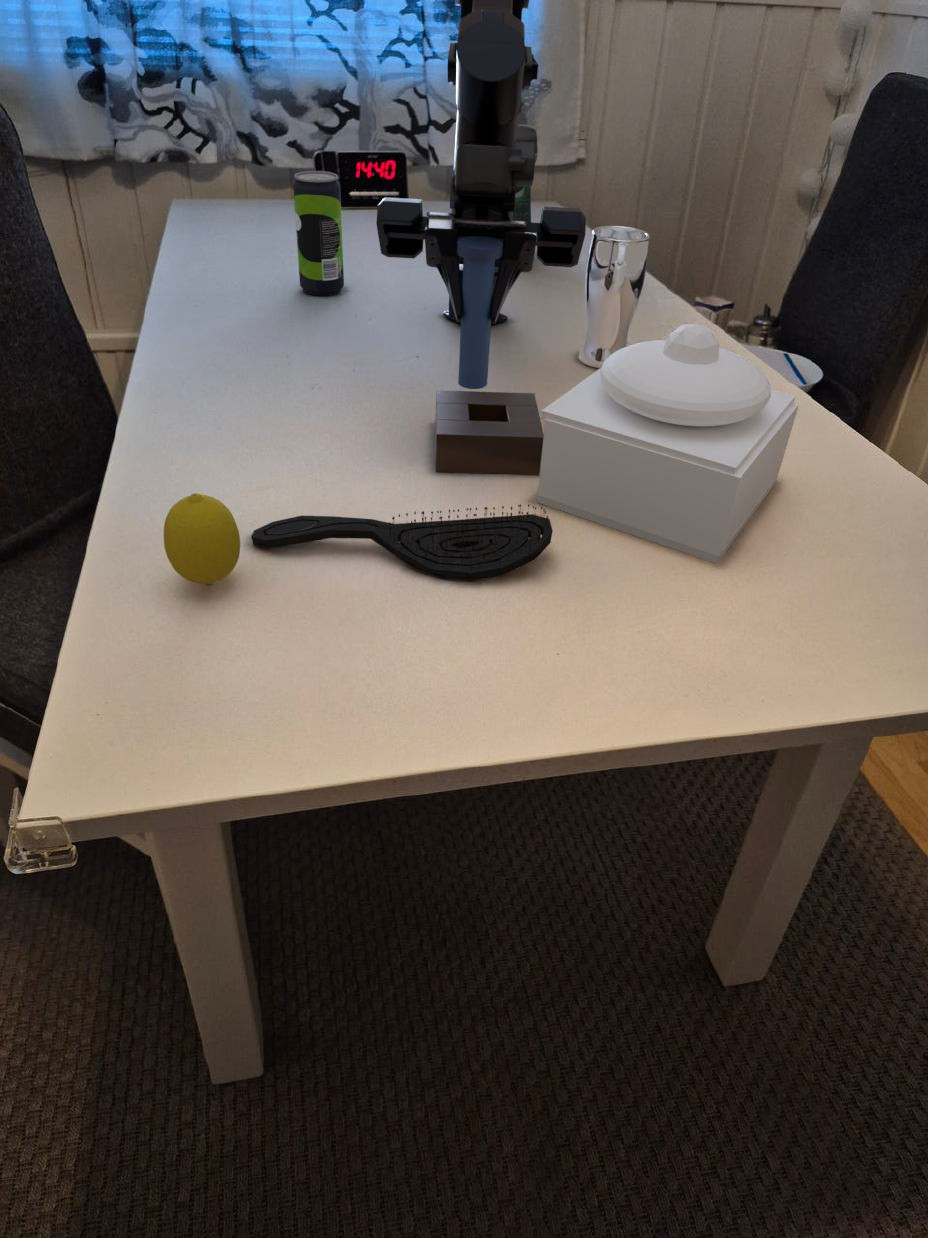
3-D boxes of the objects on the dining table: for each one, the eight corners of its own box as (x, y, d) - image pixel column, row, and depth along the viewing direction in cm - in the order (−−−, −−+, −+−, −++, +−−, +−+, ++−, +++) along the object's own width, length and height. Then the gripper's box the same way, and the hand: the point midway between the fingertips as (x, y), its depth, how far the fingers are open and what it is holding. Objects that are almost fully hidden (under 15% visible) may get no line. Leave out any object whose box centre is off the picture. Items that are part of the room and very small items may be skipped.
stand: (435, 425, 93) (436, 389, 91) (530, 428, 94) (534, 392, 91) (435, 472, 85) (436, 434, 83) (540, 474, 86) (544, 437, 83)
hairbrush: (259, 487, 75) (551, 491, 75) (265, 524, 78) (549, 528, 77) (236, 540, 69) (556, 545, 68) (243, 578, 71) (553, 583, 70)
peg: (444, 379, 85) (448, 238, 77) (478, 372, 87) (486, 233, 79) (466, 394, 83) (473, 250, 75) (501, 387, 85) (511, 245, 77)
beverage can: (348, 284, 129) (344, 171, 119) (339, 298, 124) (334, 181, 114) (306, 281, 129) (298, 168, 120) (295, 295, 124) (287, 178, 115)
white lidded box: (717, 563, 74) (765, 385, 65) (531, 500, 82) (549, 330, 72) (777, 482, 86) (824, 320, 77) (610, 432, 94) (634, 279, 84)
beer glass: (637, 356, 111) (658, 230, 102) (621, 374, 106) (642, 244, 97) (585, 345, 114) (601, 221, 104) (567, 363, 108) (582, 234, 99)
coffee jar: (521, 243, 150) (531, 119, 139) (535, 256, 144) (546, 128, 133) (466, 244, 148) (472, 119, 137) (477, 257, 142) (484, 128, 131)
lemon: (179, 564, 71) (162, 476, 66) (249, 563, 71) (238, 476, 67) (166, 605, 67) (148, 514, 62) (241, 604, 67) (228, 514, 62)
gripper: (376, 93, 74) (364, 268, 72) (598, 106, 74) (591, 281, 72) (387, 176, 85) (376, 329, 83) (580, 187, 85) (573, 340, 83)
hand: (475, 320), depth 80 cm, fingers closed on peg, 3 cm apart
